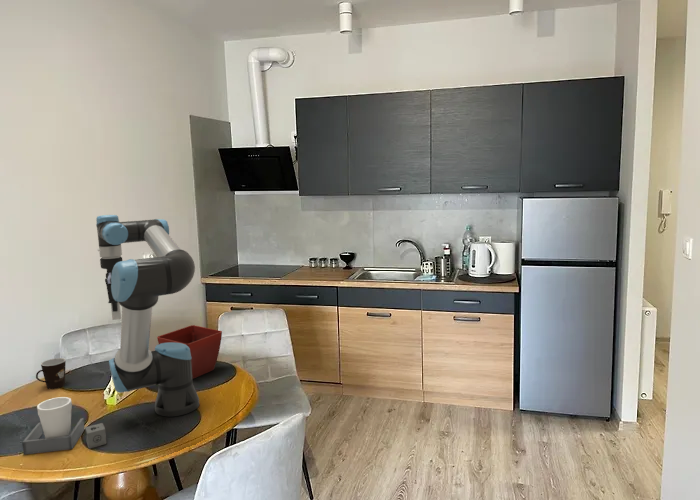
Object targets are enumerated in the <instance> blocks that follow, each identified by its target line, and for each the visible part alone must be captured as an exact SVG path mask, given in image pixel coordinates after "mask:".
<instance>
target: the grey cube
mask: <svg viewBox="0 0 700 500" xmlns="http://www.w3.org/2000/svg"><path fill="white" fill-rule="evenodd" d="M84 428H85V430H84V432H85V439H86V440H85V441H86V445H87V447H88V449H89V450H90V449H93V448H97V447H100V446H103V445H107V434H106V427H105V425H104V423H103V422H101V423H97V424H92V425H89V426H88V425H87V426H84Z"/></svg>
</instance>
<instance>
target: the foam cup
mask: <svg viewBox="0 0 700 500" xmlns="http://www.w3.org/2000/svg"><path fill="white" fill-rule="evenodd" d="M72 404H73V403H72V398H71V397H67V396H59V397H53V398H50V399H45V400H44V401H42V402H39V404H37V405H36V410H37V416H38V417H39V421H40V423H41V426H42V433H43V435H44V439H45V438H54V437H63V436H69V435H70V434H71V432H72V429H71V428H72V409H73V405H72Z"/></svg>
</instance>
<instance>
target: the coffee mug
mask: <svg viewBox="0 0 700 500" xmlns="http://www.w3.org/2000/svg"><path fill="white" fill-rule="evenodd" d="M40 366H41V369H40V370H38V371H36V374H35V378H36V380H37V381H39V382H41V383H45V385H46V388H47V389H48V390H56V389H60V388H63V387H65V385H66V358H62V357H60V358H59V357H56V358H51V359H47V360H44V361H43V362H41V363H40ZM41 372H42V374H43V378H44V380H43V379H40V378H39V374H40V373H41Z"/></svg>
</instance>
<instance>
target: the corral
mask: <svg viewBox="0 0 700 500" xmlns="http://www.w3.org/2000/svg"><path fill="white" fill-rule="evenodd" d="M84 432H85V420H84V417H80V418H79V420H78V421H77V423H76V425H75V427H73V429H72V430H71V431H70V435H69V436H63V437H54V438H45V437H44V438H41V436H42V435H43V428H42V425H41V422H38V423H37V424H36V425H35V427H33V428H32V430H31V431H30V432H29V434H27V436H26V437H25V438H24V440H23V441H22V443H21V444H22V451H23V455H33V454H40V453H49V452H59V451H67V450H73V448H74V447H75V445H77V443H78V440H80V438H81V436H82V435H83V433H84Z"/></svg>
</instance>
